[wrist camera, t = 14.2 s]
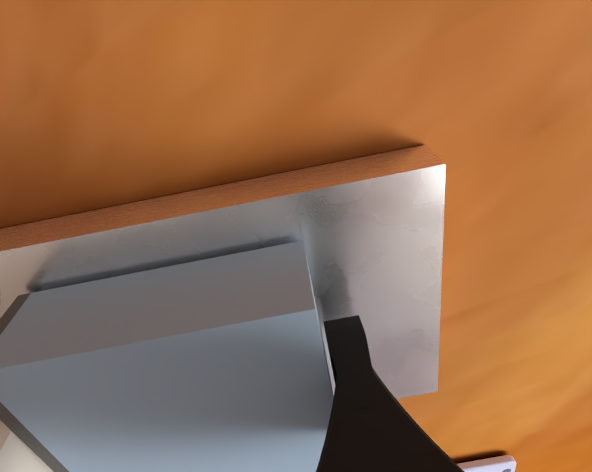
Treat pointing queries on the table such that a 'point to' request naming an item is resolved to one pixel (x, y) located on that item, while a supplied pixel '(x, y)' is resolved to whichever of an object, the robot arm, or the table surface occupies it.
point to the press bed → (276, 231)
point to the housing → (17, 454)
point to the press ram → (172, 369)
